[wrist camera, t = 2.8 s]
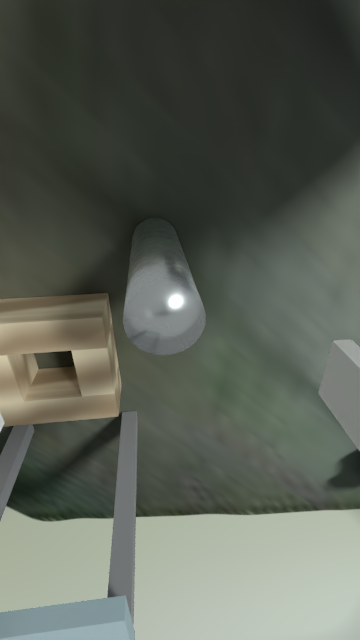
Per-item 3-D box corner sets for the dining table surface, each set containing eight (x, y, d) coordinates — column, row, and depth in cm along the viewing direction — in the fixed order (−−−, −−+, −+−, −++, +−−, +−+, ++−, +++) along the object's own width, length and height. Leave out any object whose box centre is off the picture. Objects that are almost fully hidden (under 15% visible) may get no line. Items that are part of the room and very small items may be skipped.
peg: (130, 218, 27) (118, 285, 14) (177, 216, 28) (206, 281, 15) (134, 263, 29) (127, 357, 16) (178, 261, 30) (204, 352, 17)
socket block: (-18, 300, 30) (-46, 326, 25) (107, 292, 31) (102, 317, 26) (17, 392, 36) (-1, 427, 31) (121, 384, 37) (118, 416, 32)
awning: (3, 393, 35) (-145, 659, 17) (133, 383, 37) (124, 620, 18) (19, 432, 39) (-92, 689, 20) (138, 421, 40) (134, 654, 22)
